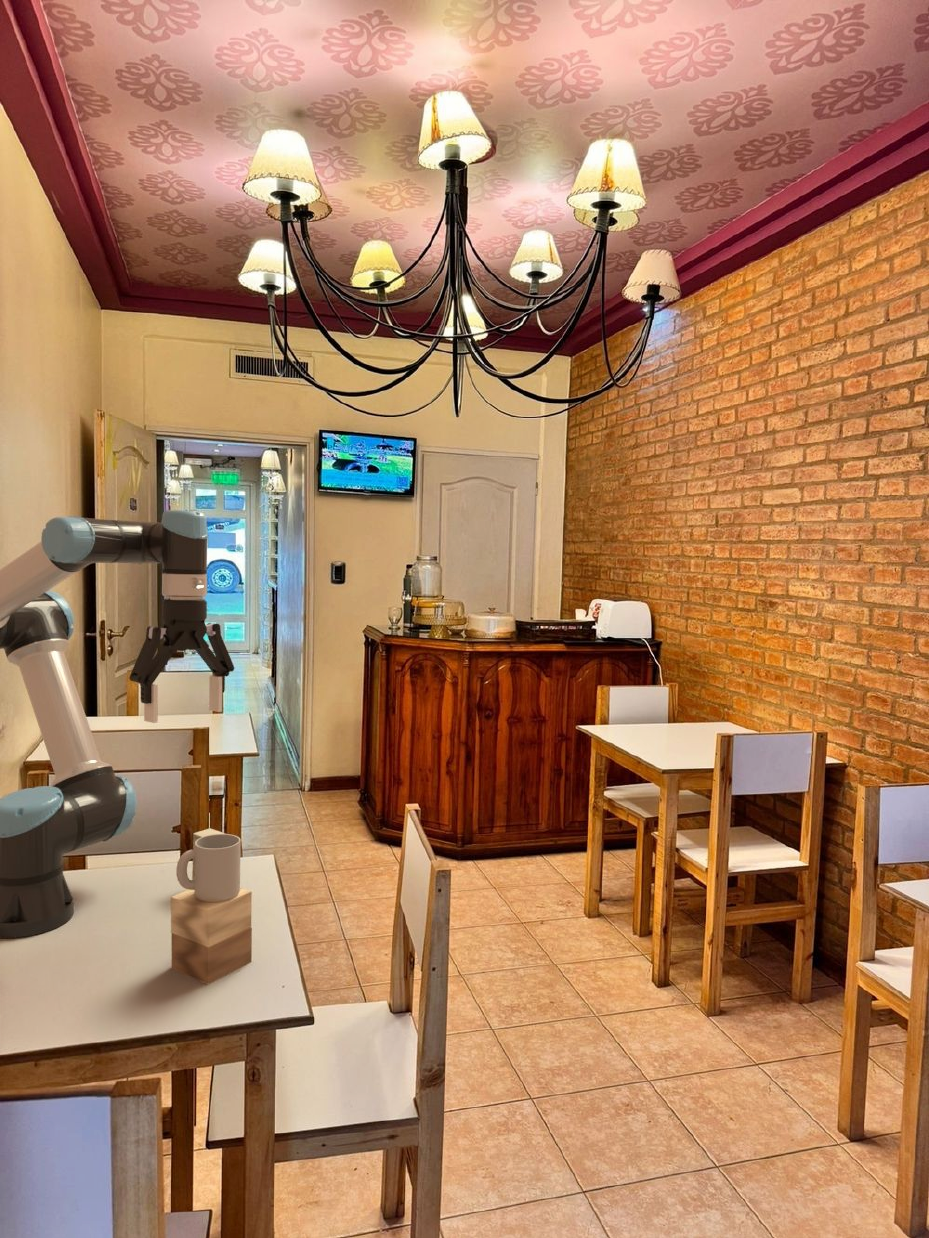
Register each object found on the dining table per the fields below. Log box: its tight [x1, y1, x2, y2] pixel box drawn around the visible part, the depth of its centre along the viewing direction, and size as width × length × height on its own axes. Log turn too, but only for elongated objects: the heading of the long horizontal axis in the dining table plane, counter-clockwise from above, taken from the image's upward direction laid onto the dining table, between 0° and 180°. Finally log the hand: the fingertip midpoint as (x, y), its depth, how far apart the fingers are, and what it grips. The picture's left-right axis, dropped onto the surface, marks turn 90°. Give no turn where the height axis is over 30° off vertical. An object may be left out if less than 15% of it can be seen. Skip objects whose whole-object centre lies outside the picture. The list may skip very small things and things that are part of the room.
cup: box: [176, 833, 242, 903], centre depth 132 cm, size 7×10×9 cm
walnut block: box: [171, 926, 253, 985], centre depth 134 cm, size 9×9×6 cm
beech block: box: [170, 887, 253, 948], centre depth 133 cm, size 9×9×6 cm
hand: (184, 716), depth 145 cm, fingers open, 13 cm apart
